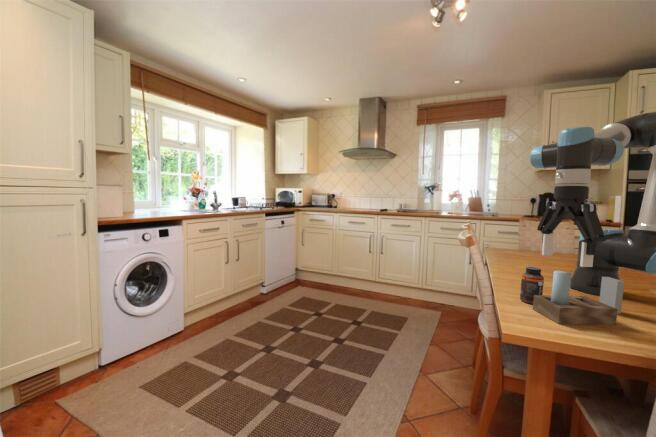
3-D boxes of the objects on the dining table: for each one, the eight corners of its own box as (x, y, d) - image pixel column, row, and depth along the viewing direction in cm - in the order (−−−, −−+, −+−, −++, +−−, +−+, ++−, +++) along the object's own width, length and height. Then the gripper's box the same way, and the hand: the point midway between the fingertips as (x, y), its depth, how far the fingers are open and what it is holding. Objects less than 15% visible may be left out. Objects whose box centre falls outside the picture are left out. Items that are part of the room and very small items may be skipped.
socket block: (583, 310, 91) (585, 296, 91) (615, 324, 82) (617, 308, 81) (532, 309, 91) (533, 295, 91) (558, 323, 81) (560, 307, 81)
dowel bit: (559, 313, 88) (563, 270, 87) (570, 319, 84) (575, 274, 83) (546, 313, 88) (550, 270, 87) (556, 319, 84) (561, 274, 83)
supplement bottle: (545, 306, 94) (548, 271, 93) (524, 304, 95) (527, 269, 94) (536, 299, 100) (539, 266, 99) (516, 297, 101) (519, 265, 100)
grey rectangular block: (604, 307, 94) (608, 276, 93) (620, 314, 89) (624, 281, 88) (598, 307, 94) (602, 276, 93) (614, 314, 89) (617, 281, 88)
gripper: (527, 185, 95) (522, 251, 97) (599, 184, 70) (591, 272, 72) (550, 185, 95) (545, 251, 97) (631, 184, 70) (621, 272, 73)
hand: (565, 260), depth 85 cm, fingers open, 13 cm apart
